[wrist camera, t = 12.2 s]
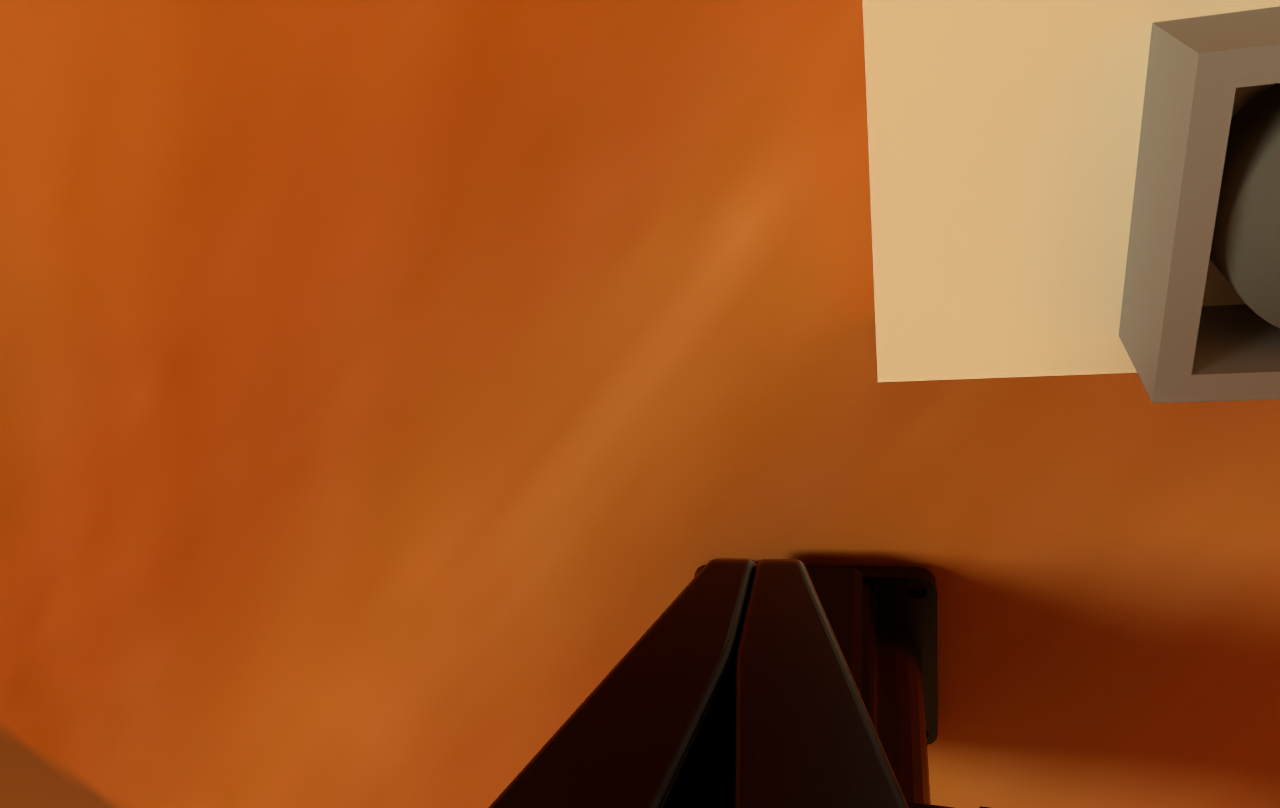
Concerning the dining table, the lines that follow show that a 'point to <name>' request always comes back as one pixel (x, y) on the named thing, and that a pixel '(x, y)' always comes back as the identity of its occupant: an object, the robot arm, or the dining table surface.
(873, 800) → the robot arm
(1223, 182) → the grey dome
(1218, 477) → the dining table surface
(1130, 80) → the console
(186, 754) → the dining table surface
